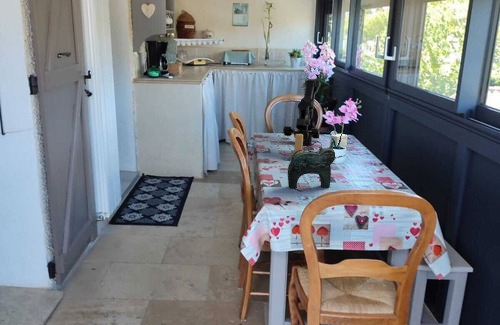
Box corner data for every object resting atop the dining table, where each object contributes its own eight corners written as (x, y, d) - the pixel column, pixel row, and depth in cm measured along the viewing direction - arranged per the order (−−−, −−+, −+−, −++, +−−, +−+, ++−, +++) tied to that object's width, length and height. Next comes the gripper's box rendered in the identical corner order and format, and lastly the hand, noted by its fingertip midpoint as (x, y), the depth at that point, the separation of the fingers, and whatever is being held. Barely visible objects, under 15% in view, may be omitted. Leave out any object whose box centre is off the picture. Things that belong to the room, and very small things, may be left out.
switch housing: (291, 152, 245) (292, 146, 244) (310, 154, 243) (310, 148, 242) (286, 160, 230) (287, 154, 229) (306, 162, 228) (306, 156, 227)
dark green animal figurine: (330, 184, 195) (333, 139, 190) (335, 189, 189) (339, 143, 184) (285, 185, 192) (288, 139, 187) (289, 190, 186) (292, 143, 181)
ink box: (338, 154, 246) (340, 133, 243) (346, 156, 242) (348, 134, 239) (328, 156, 241) (330, 134, 237) (335, 158, 237) (337, 136, 234)
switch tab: (294, 155, 234) (296, 133, 231) (301, 155, 234) (303, 134, 230) (294, 156, 232) (295, 134, 229) (301, 157, 231) (302, 135, 228)
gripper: (284, 110, 235) (279, 135, 228) (320, 113, 231) (316, 138, 224) (286, 123, 245) (281, 147, 238) (321, 125, 240) (317, 150, 233)
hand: (299, 145), depth 233 cm, fingers closed, pressing on switch tab
